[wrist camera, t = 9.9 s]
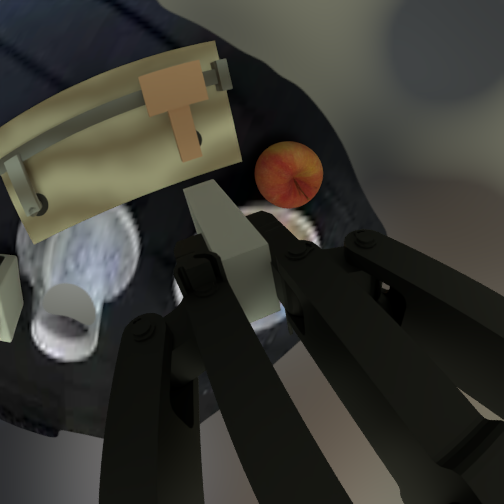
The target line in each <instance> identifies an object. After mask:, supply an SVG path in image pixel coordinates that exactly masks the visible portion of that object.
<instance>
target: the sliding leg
mask: <svg viewBox="0 0 504 504" xmlns="http://www.w3.org/2000/svg"><path fill="white" fill-rule="evenodd" d="M138 78H139V83H140V87H141V90H142V94H143V98H144V101H145V105H146V108H147V112H148V115H149V117H152V116H155V115H158V114H161V113H164V112H168V116H169V119H170V123H171V126H172V130H173V133H174V137H175V140H176V144H177V147H178V151H179V154H180V157H181V161H182V162H183V163H184V162H187V161H190V160H193V159H196V158H199V157H202V156H203V155H202V152H201V148H200V144H199V140H198V137H197V133H196V129H195V125H194V122H193V118H192V114H191V110H190V106H189V105H190V104H193V103H197V102H200V101H204V100H208V99H209V98H208V94H207V90H206V86H205V82H204V77H203V73H202V69H201V65H200V61H199V60H195V61H191V62H187V63H183V64H179V65H176V66H172V67H169V68H165V69H162V70H158V71H155V72H152V73H149V74H146V75H143V76H140V77H138Z"/></svg>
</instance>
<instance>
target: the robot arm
mask: <svg viewBox="0 0 504 504" xmlns="http://www.w3.org/2000/svg"><path fill="white" fill-rule="evenodd" d="M183 191H184V194H185V197H186V200H187V204H188V207H189V210H190V213H191V216H192V219H193V222H194V225H195V228H196V231H197V235H195V236H192V237H189V238H187V239H184V240H181V241H178V242H177V243H176V246H175V248H174V254H175V258H176V262H177V265H176V266H175V268H174V274H173V275H174V277H175V279H176V281H177V284H178V286H179V288H180V290H181V293H182V295H183V299H182V301H181V303H180V304H179V305H178V307H177V308H176V309H174V310H173V311H172V312H171V313H169V314H168V315H166V316H165V317H162V316H161V315H158V314H155V313H146V314H143V315H140V316H138V317H136V318H135V319H133V320H132V321H131V322H130V323H129V324H128V325H127V326H126V327H125V330H124V332H123V334H122V338H121V343H120V347H119V352H118V357H117V362H116V366H115V372H114V377H113V382H112V388H111V393H110V399H109V406H108V412H107V419H106V426H105V434H104V443H103V451H102V461H101V474H100V488H99V504H204V493H203V479H202V463H201V447H200V446H201V445H200V421H199V382H198V376H199V375H200V374H201V373H203V372H204V371H207V374H208V377H209V380H210V383H211V386H212V389H213V392H214V395H215V397H216V400H217V403H218V406H219V408H220V411H221V414H222V416H223V419H224V422H225V424H226V427H227V429H228V432H229V434H230V437H231V440H232V442H233V445H234V447H235V450H236V452H237V454H238V457H239V459H240V462H241V464H242V466H243V469H244V471H245V473H246V476H247V478H248V480H249V482H250V485H251V487H252V489H253V491H254V494H255V496H256V498H257V500H258V502H259V504H353V502H352V501H351V499H350V498H349V496H348V494H347V493H346V491H345V490H344V488H343V486H342V485H341V483H340V481H339V480H338V478H337V477H336V475H335V473H334V472H333V470H332V468H331V467H330V465H329V463H328V462H327V460H326V458H325V457H324V455H323V453H322V452H321V450H320V448H319V446H318V445H317V443H316V441H315V440H314V438H313V436H312V435H311V433H310V431H309V429H308V428H307V426H306V424H305V422H304V421H303V419H302V417H301V415H300V414H299V412H298V410H297V408H296V407H295V405H294V403H293V402H292V400H291V398H290V396H289V394H288V392H287V391H286V389H285V387H284V385H283V383H282V382H281V380H280V378H279V376H278V375H277V373H276V371H275V369H274V367H273V365H272V363H271V362H270V360H269V358H268V356H267V354H266V352H265V351H264V349H263V347H262V345H261V343H260V341H259V339H258V337H257V336H256V334H255V332H254V330H253V328H252V326H251V324H250V323H251V322H254V321H256V320H259V319H261V318H263V317H266V316H268V315H270V314H273V313H275V312H278V311H280V310H281V309H280V303H279V300H280V302H281V303H282V305H283V306H284V308H285V313H286V319H287V325H288V330H289V333H290V335H291V334H293V330H292V328H293V329H294V331H295V332H296V334H297V335H298V337H299V338H300V340H301V341H302V343H303V344H304V346H305V347H306V349H307V350H308V352H309V353H310V355H311V356H312V358H313V359H314V361H315V362H316V364H317V365H318V367H319V368H320V370H321V371H322V373H323V374H324V376H325V377H326V379H327V380H328V382H329V383H330V385H331V386H332V388H333V389H334V391H335V392H336V394H337V395H338V397H339V398H340V400H341V401H342V403H343V404H344V406H345V407H346V409H347V410H348V412H349V413H350V414H351V416H352V418H353V419H354V421H355V422H356V423H357V425H358V427H359V428H360V429H361V431H362V432H363V434H364V435H365V437H366V438H367V440H368V441H369V443H370V444H371V446H372V447H373V449H374V450H375V452H376V453H377V455H378V456H379V457H380V459H381V460H382V462H383V463H384V465H385V466H386V468H387V469H388V471H389V472H390V474H391V475H392V477H393V478H394V479H395V481H396V482H397V484H398V486H399V488H400V495H401V498H402V501H403V502H404V504H504V421H501V420H488V419H486V418H484V417H483V416H482V415H481V414H480V413H479V412H478V411H477V410H476V409H475V407H474V406H473V405H472V404H471V403H470V402H469V401H468V399H467V398H466V397H465V396H464V395H463V394H462V393H461V392H460V390H459V389H461V390H462V391H463V392H465V393H466V394H468V395H469V396H471V397H472V398H474V399H475V400H477V401H478V402H479V403H481V404H482V405H484V406H485V407H486V408H488V409H489V410H491V411H492V412H493V413H495V414H496V415H498V416H499V417H501V418H502V419H504V297H503V296H502V295H500V294H498V293H497V292H495V291H493V290H491V289H489V288H488V287H486V286H484V285H482V284H481V283H479V282H477V281H475V280H473V279H471V278H469V277H468V276H466V275H464V274H462V273H460V272H458V271H457V270H454V269H453V268H451V267H449V266H447V265H445V264H443V263H441V262H439V261H437V260H435V259H433V258H431V257H429V256H427V255H425V254H423V253H421V252H419V251H417V250H415V249H413V248H411V247H409V246H407V245H405V244H403V243H400V242H398V241H396V240H394V239H392V238H390V237H388V236H385V235H383V234H381V233H379V232H376V231H373V230H366V229H361V230H355V231H353V232H351V233H349V234H348V235H347V236H346V237H345V240H344V246H343V247H337V248H331V249H321V248H320V247H319V246H318V245H316V244H314V243H313V242H310V241H306V240H298V239H297V238H296V237H295V236H294V235H293V234H292V233H291V232H290V231H289V230H288V229H287V228H286V227H285V226H283V224H282V223H281V222H279V221H278V220H277V219H276V218H275V217H274V216H273V215H272V214H270V213H267V212H264V211H259V212H256V213H253V214H250V215H248V216H244V214H243V213H242V212H241V211H240V210H239V209H238V207H237V206H236V205H235V204H234V203H233V202H232V200H231V199H230V198H229V197H228V196H227V195H226V193H225V192H224V191H223V190H222V189H221V188H220V186H219V185H218V184H217V183H216V182H215V181H214V179H212V180H209V181H206V182H203V183H200V184H197V185H194V186H191V187H188V188H186V189H183ZM382 282H384V283H385V284H387V285H389V286H390V289H389V290H386V289H383V288H382ZM457 387H458V388H459V389H458V388H457Z"/></svg>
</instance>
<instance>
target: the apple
mask: <svg viewBox="0 0 504 504" xmlns="http://www.w3.org/2000/svg"><path fill="white" fill-rule="evenodd" d="M322 178H323V169H322V165H321V162H320V160H319V158H318V156H317V155H316V154H315V153H314V152H313V151H312V150H311V149H310V148H308V147H307V146H305V145H303V144H300V143H297V142H292V141H285V142H279V143H276V144H273V145H271V146H270V147H268V148H267V149H266V150H264V151H263V152H262V154H261V155H260V156H259V158H258V160H257V163H256V166H255V180H256V184H257V187H258V189H259V191H260V192H261V194H262V195H263V196H264V197H265V198H266V199H267V200H268V201H269V202H271V203H272V204H274V205H276V206H278V207H281V208H296V207H299V206H302V205H304V204H305V203H307V202H308V201H310V200H311V199H312V198H313V197H314V196H315V194H316V193H317V192H318V190H319V188H320V186H321V183H322Z"/></svg>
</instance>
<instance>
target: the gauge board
mask: <svg viewBox="0 0 504 504" xmlns="http://www.w3.org/2000/svg"><path fill="white" fill-rule="evenodd" d="M195 60H199V61H200V65H201V69H202V73H203V77H204V82H205V86H206V90H207V94H208V98H209V99H208V100H204V101H200V102H197V103H193V104H190V105H189V106H190V110H191V114H192V118H193V122H194V125H195V129H196V133H197V137H198V140H199V144H200V148H201V152H202V155H203V156H202V157H199V158H196V159H193V160H190V161H187V162H184V163H183V162H182V161H181V157H180V154H179V151H178V147H177V144H176V140H175V137H174V133H173V130H172V126H171V123H170V119H169V116H168V112H164V113H161V114H158V115H155V116H152V117H149V115H148V112H147V108H146V105H145V101H144V98H143V94H142V90H141V87H140V83H139V78H138V77H140V76H143V75H146V74H149V73H152V72H155V71H158V70H162V69H165V68H169V67H172V66H176V65H179V64H183V63H187V62H191V61H195ZM229 89H233V87H232V83H231V78H230V74H229V70H228V65H227V61H226V59H221V60H219V57H218V52H217V48H216V44H215V41H210V42H205V43H200V44H196V45H191V46H187V47H183V48H179V49H175V50H171V51H167V52H164V53H160V54H157V55H153V56H150V57H147V58H144V59H141V60H138V61H135V62H132V63H129V64H126V65H123V66H120V67H118V68H115V69H112V70H110V71H107V72H105V73H102V74H100V75H97V76H95V77H92V78H90V79H88V80H85V81H83V82H81V83H79V84H77V85H74V86H72V87H70V88H68V89H66V90H64V91H62V92H60V93H58V94H56V95H54V96H52V97H50V98H48V99H46V100H45V101H43V102H41V103H39V104H37V105H36V106H34V107H32V108H30V109H29V110H27V111H25V112H24V113H22V114H20V115H19V116H17V117H15V118H14V119H12V120H11V121H9V122H8V123H6V124H5V125H3V126H2V127H0V176H1V177H2V179H3V181H4V184H5V186H6V189H7V191H8V193H9V195H10V198H11V200H12V202H13V204H14V206H15V208H16V211H17V213H18V215H19V217H20V219H21V221H22V223H23V225H24V227H25V229H26V231H27V232H28V234H29V236H30V238H31V240H32V242H33V244H36V243H38V242H40V241H42V240H44V239H46V238H48V237H50V236H52V235H54V234H56V233H58V232H61V231H63V230H65V229H67V228H69V227H71V226H73V225H75V224H77V223H80V222H82V221H84V220H86V219H89V218H91V217H93V216H95V215H98V214H100V213H102V212H104V211H107V210H109V209H111V208H114V207H116V206H119V205H121V204H123V203H126V202H128V201H131V200H133V199H136V198H138V197H141V196H143V195H146V194H149V193H151V192H154V191H156V190H159V189H162V188H164V187H167V186H170V185H173V184H175V183H178V182H181V181H184V180H187V179H189V178H192V177H195V176H198V175H201V174H204V173H207V172H210V171H213V170H216V169H219V168H222V167H225V166H229V165H232V164H235V163H238V162H242V158H241V154H240V149H239V145H238V140H237V136H236V131H235V127H234V122H233V118H232V113H231V109H230V105H229V100H228V96H227V91H226V90H229Z"/></svg>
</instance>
